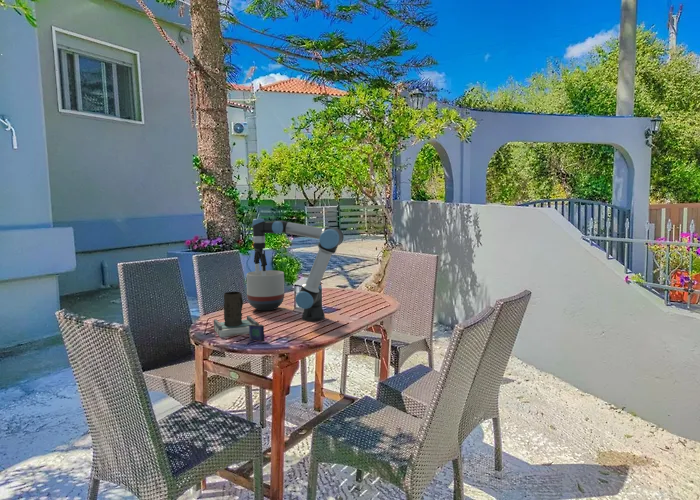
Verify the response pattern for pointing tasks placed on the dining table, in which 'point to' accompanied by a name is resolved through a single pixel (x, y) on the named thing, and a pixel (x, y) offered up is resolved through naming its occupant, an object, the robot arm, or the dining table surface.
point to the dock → (233, 328)
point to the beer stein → (233, 308)
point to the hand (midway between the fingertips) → (260, 274)
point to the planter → (265, 289)
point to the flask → (256, 332)
